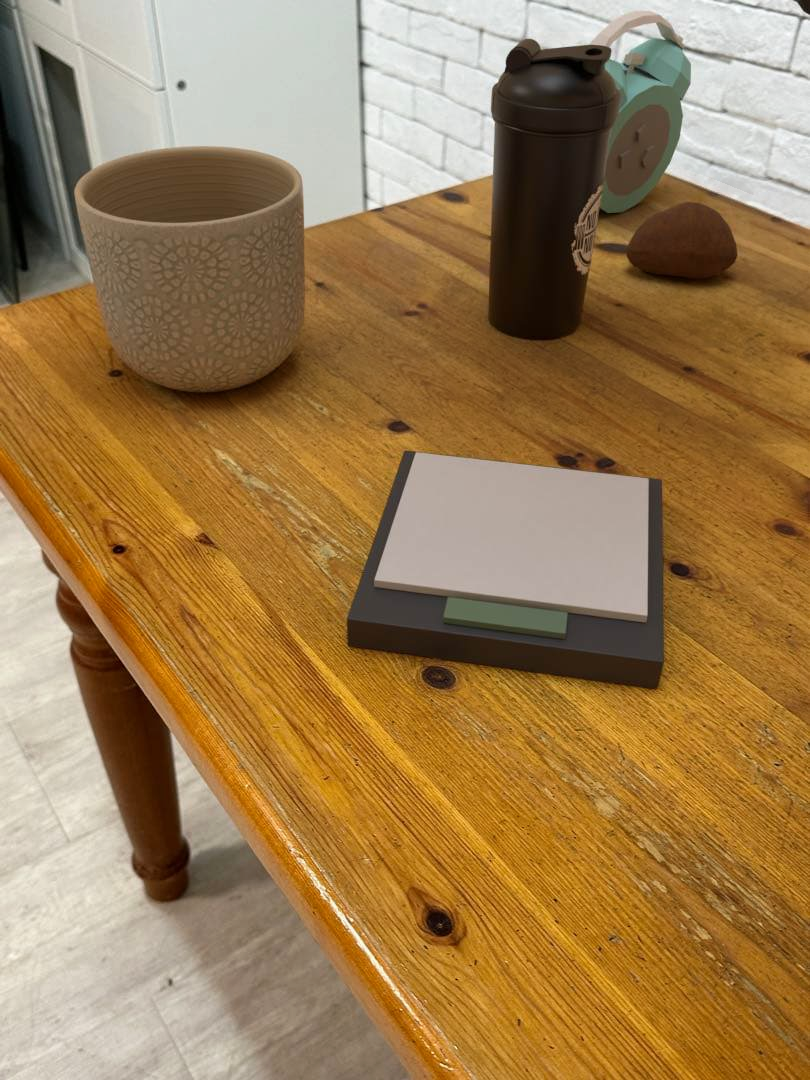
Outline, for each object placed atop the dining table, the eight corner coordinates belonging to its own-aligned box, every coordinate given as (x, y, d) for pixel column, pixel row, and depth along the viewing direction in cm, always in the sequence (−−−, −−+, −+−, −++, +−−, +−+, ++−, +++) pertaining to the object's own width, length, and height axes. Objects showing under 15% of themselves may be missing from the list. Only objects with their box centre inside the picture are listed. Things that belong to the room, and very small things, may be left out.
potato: (621, 255, 107) (631, 187, 102) (724, 260, 106) (739, 191, 102) (626, 285, 101) (637, 214, 97) (736, 290, 101) (752, 219, 96)
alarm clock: (621, 176, 125) (647, -10, 113) (684, 199, 119) (719, 6, 107) (517, 209, 116) (533, 12, 104) (580, 236, 111) (605, 30, 98)
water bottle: (578, 352, 90) (614, 69, 76) (464, 333, 93) (479, 55, 79) (600, 303, 98) (636, 37, 84) (494, 287, 100) (512, 26, 86)
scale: (657, 504, 73) (663, 471, 71) (657, 689, 59) (665, 654, 57) (404, 475, 75) (404, 442, 74) (347, 646, 62) (346, 610, 60)
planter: (304, 416, 82) (293, 225, 72) (87, 415, 81) (47, 223, 72) (317, 318, 95) (309, 146, 85) (130, 317, 95) (101, 144, 85)
